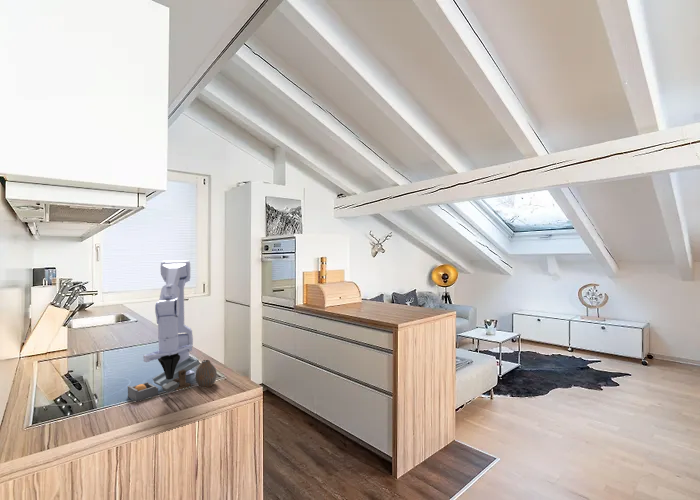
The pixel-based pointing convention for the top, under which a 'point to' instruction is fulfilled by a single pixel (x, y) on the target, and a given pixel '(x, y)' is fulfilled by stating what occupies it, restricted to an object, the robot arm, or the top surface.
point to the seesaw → (175, 374)
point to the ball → (140, 387)
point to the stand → (182, 380)
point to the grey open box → (142, 392)
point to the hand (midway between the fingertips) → (169, 378)
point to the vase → (206, 374)
